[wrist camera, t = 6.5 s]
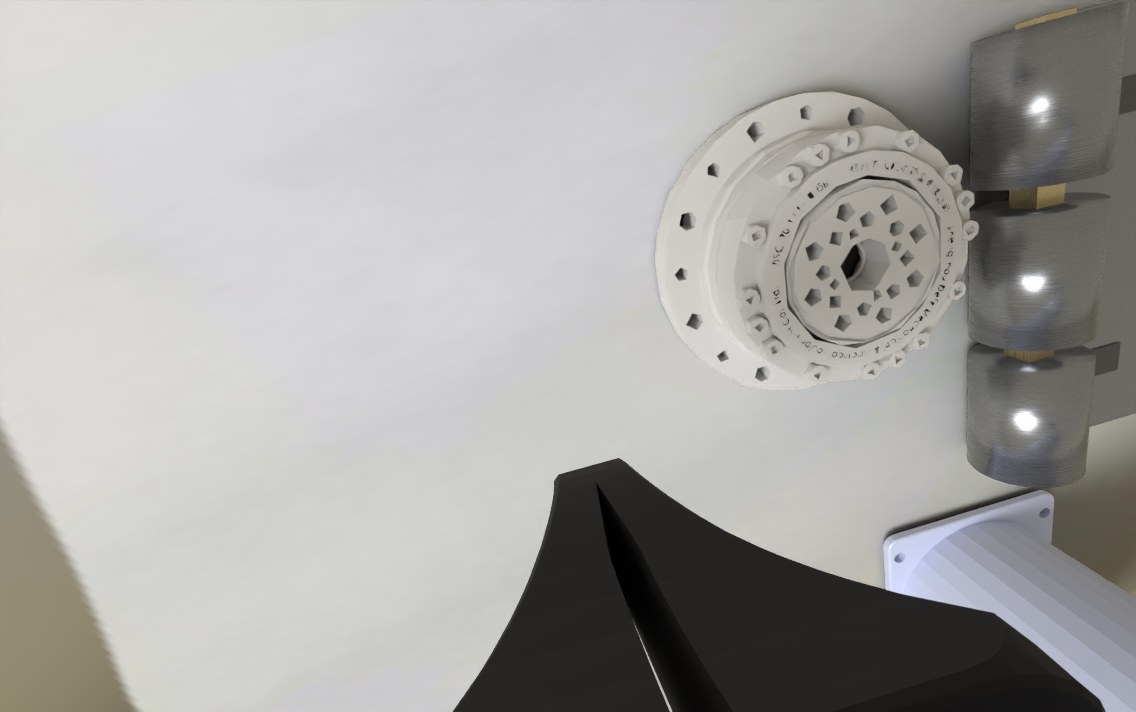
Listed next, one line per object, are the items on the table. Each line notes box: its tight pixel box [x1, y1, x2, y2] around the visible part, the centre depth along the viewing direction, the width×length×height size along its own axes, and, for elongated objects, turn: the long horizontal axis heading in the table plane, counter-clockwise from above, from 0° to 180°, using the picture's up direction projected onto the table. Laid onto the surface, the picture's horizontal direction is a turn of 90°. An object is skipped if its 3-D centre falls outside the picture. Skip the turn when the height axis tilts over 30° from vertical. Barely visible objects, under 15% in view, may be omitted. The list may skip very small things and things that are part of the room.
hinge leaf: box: [967, 0, 1136, 488], centre depth 19 cm, size 16×9×4 cm, turn 13°
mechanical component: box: [655, 91, 979, 390], centre depth 18 cm, size 10×4×10 cm
